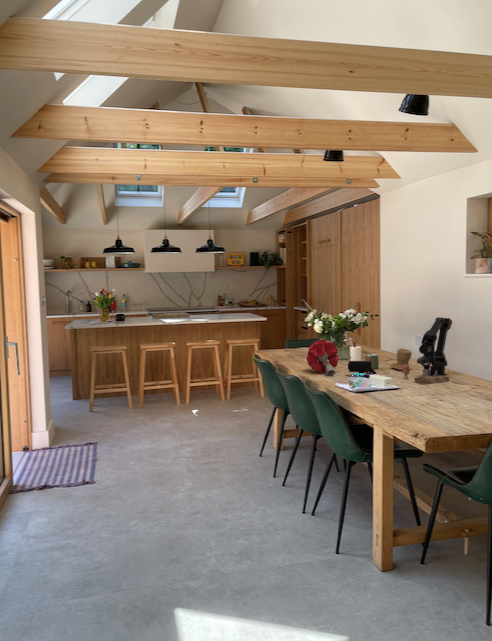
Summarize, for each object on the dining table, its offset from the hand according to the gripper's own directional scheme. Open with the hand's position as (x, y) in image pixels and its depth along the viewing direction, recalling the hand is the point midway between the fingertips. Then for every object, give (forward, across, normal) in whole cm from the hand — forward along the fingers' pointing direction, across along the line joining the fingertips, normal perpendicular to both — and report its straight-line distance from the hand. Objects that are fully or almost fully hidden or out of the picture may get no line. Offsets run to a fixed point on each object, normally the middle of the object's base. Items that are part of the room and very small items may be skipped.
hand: (429, 375), depth 331 cm
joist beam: (+2, +10, -7) cm, 12 cm away
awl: (+2, -6, -14) cm, 16 cm away
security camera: (+2, -26, -35) cm, 43 cm away
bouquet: (+2, -48, -51) cm, 71 cm away
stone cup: (+2, -34, +4) cm, 34 cm away
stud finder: (+1, 0, 0) cm, 1 cm away
